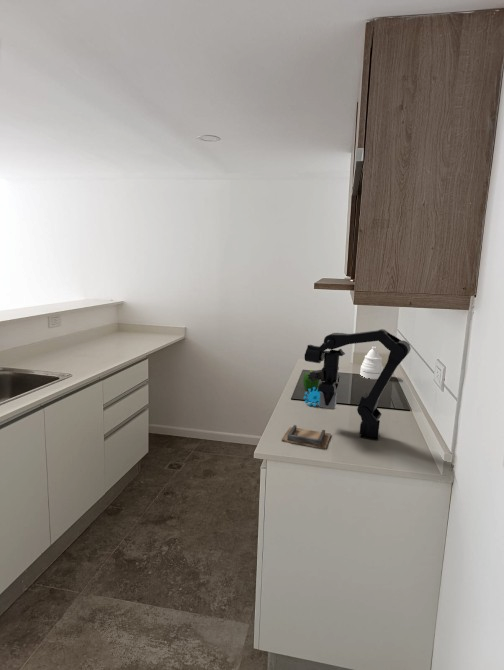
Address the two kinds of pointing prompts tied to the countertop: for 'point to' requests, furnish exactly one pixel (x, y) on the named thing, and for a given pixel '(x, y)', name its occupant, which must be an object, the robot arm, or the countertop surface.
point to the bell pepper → (307, 382)
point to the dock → (307, 437)
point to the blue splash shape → (312, 397)
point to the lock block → (332, 402)
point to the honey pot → (372, 365)
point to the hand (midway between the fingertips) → (327, 403)
